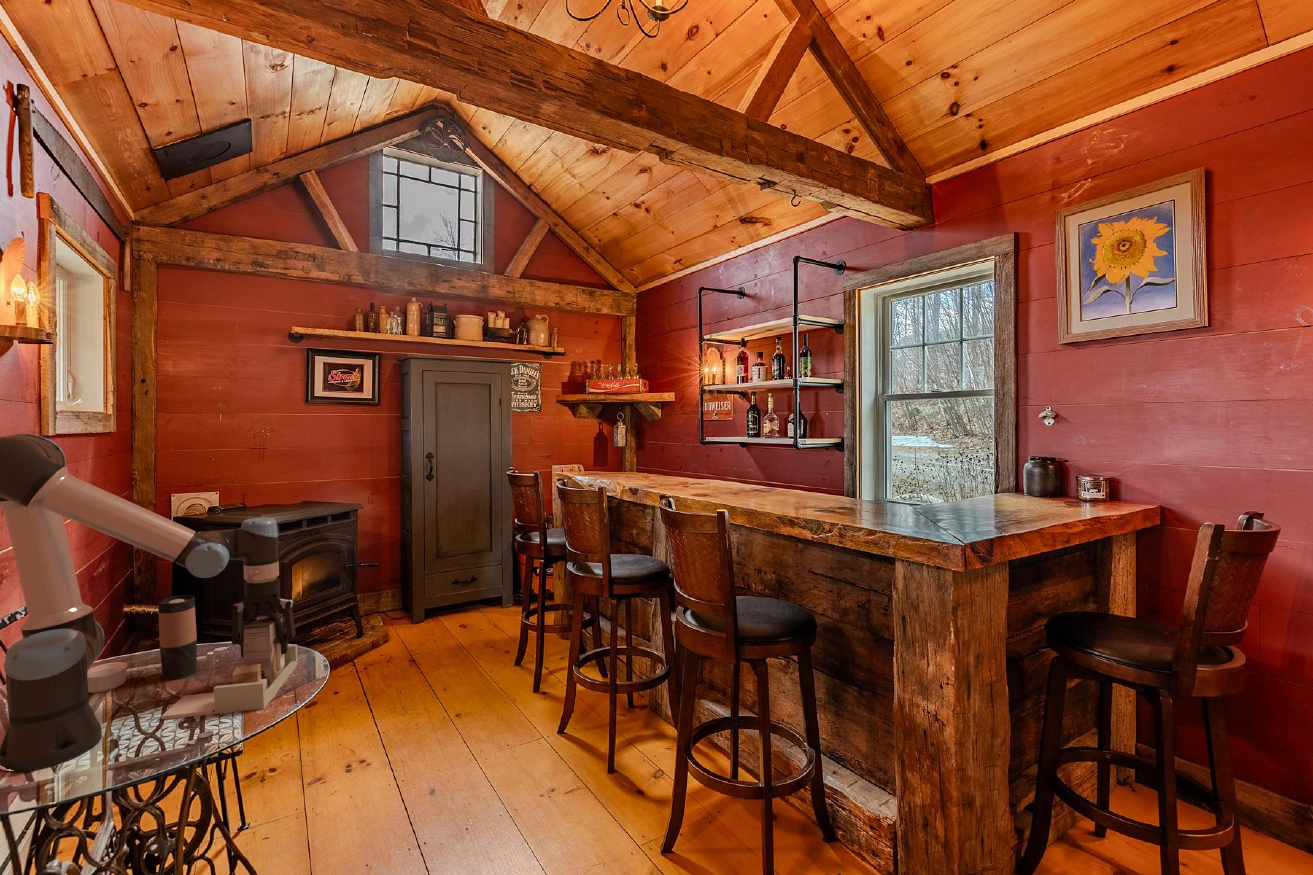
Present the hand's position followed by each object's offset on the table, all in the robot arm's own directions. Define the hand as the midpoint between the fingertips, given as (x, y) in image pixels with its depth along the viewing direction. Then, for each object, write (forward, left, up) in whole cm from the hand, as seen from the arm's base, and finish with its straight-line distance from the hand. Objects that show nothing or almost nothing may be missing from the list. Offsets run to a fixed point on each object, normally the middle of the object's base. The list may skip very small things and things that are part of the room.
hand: (265, 667), depth 157 cm
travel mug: (-24, +10, -4) cm, 26 cm away
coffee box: (0, 0, -4) cm, 4 cm away
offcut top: (0, -11, 0) cm, 11 cm away
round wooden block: (-39, +7, -4) cm, 39 cm away
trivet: (-11, -11, -3) cm, 16 cm away
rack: (0, -4, -3) cm, 5 cm away
